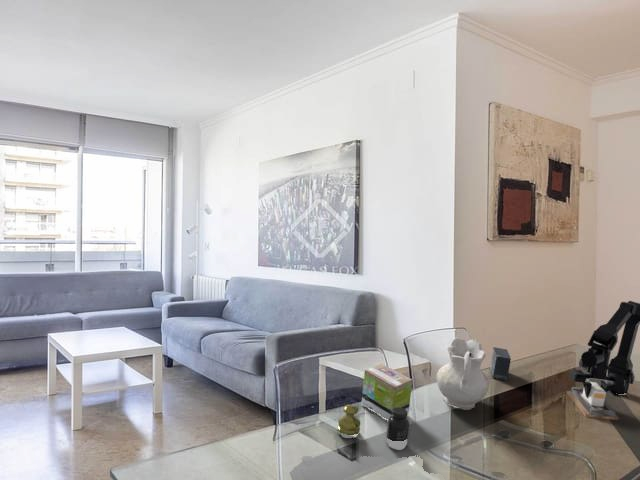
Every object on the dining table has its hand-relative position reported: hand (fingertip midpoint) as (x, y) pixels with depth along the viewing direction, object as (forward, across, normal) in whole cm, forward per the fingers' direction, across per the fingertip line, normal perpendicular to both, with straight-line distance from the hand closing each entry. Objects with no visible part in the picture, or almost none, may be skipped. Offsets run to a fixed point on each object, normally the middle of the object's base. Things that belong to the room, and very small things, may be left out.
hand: (593, 397), depth 195 cm
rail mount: (+4, 0, 0) cm, 4 cm away
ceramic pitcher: (+4, +53, +10) cm, 54 cm away
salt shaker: (+4, +95, +39) cm, 103 cm away
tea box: (+4, +82, +22) cm, 86 cm away
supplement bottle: (+4, +79, +42) cm, 90 cm away
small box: (+4, +31, -20) cm, 37 cm away
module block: (+1, 0, 0) cm, 1 cm away
